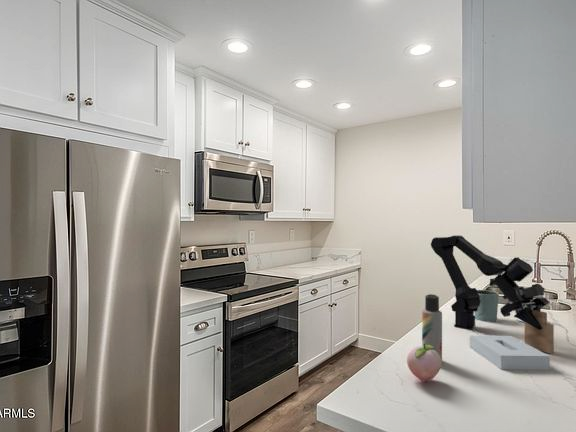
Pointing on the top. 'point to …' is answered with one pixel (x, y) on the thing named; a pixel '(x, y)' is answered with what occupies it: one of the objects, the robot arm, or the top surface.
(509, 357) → the flat gray panel
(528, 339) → the angular brown block
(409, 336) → the top surface
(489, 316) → the teal canister
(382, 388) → the top surface
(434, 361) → the decorative fruit
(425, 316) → the lotion bottle
